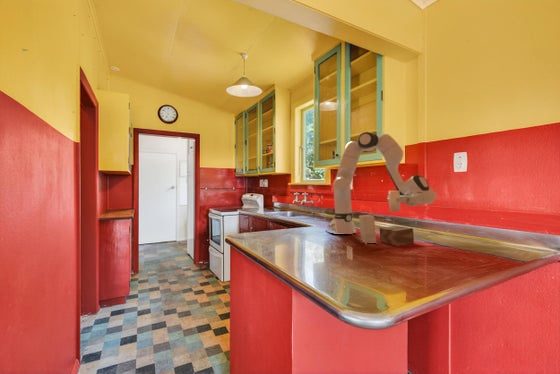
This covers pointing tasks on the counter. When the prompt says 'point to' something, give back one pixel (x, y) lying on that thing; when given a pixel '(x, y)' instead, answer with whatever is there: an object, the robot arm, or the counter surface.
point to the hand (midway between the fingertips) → (393, 199)
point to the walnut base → (397, 235)
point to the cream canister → (394, 201)
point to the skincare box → (367, 228)
